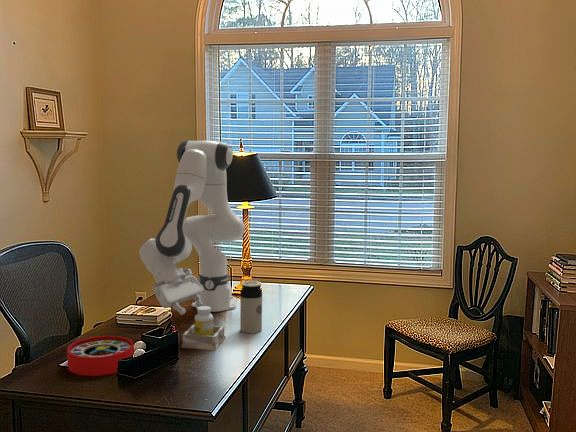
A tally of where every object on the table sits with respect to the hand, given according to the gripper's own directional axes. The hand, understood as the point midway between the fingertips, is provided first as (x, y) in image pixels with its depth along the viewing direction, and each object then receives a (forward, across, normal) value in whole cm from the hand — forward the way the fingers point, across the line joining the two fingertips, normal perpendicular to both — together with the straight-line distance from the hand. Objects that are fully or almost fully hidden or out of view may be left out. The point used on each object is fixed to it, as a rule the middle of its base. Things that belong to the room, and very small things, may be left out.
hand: (192, 310), depth 210 cm
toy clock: (0, -32, +16) cm, 36 cm away
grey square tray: (+11, 0, +4) cm, 12 cm away
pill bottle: (+11, 0, +4) cm, 11 cm away
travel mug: (+16, +20, 0) cm, 26 cm away
